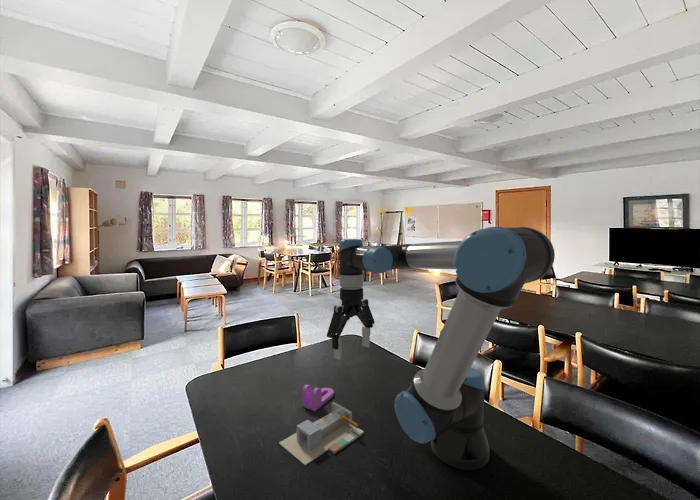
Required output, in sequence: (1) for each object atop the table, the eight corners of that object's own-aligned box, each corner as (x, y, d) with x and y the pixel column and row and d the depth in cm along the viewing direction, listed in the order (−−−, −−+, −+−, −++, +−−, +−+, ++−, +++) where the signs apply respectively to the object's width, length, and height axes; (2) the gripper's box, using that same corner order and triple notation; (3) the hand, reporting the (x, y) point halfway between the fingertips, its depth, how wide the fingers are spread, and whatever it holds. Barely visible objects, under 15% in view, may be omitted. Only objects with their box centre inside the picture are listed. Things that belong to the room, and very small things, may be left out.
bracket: (315, 411, 106) (314, 391, 105) (302, 406, 109) (301, 387, 108) (336, 393, 117) (336, 375, 117) (324, 389, 120) (324, 371, 119)
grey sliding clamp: (361, 432, 94) (361, 417, 94) (327, 456, 85) (327, 439, 84) (334, 415, 103) (333, 401, 102) (300, 435, 93) (300, 420, 93)
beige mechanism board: (363, 433, 95) (363, 417, 94) (311, 470, 80) (310, 452, 80) (330, 413, 105) (330, 399, 104) (278, 443, 90) (278, 427, 90)
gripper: (367, 281, 114) (368, 339, 115) (314, 291, 95) (315, 360, 97) (384, 283, 109) (384, 344, 110) (331, 295, 90) (332, 367, 92)
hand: (352, 352), depth 103 cm, fingers open, 13 cm apart
